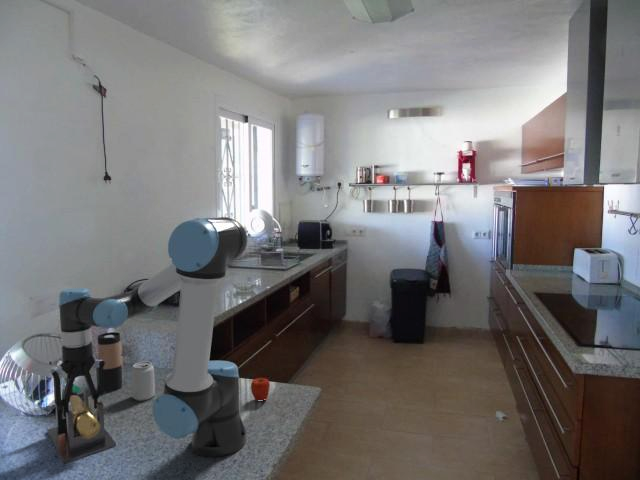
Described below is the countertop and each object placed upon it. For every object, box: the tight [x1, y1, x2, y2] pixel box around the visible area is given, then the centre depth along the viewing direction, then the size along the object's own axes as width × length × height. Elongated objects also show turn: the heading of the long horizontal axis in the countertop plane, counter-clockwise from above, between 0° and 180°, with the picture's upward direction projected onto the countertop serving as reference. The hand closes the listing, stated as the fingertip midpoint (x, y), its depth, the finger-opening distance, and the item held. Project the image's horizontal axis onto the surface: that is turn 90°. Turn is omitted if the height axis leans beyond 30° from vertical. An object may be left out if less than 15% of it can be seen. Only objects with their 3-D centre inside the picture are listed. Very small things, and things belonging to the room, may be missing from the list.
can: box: [130, 361, 156, 402], centre depth 159 cm, size 8×8×12 cm
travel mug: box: [97, 331, 123, 393], centre depth 166 cm, size 8×8×20 cm
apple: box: [250, 377, 271, 401], centre depth 155 cm, size 6×6×8 cm
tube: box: [69, 394, 100, 439], centre depth 129 cm, size 20×5×5 cm, turn 41°
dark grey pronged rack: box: [46, 386, 117, 465], centre depth 131 cm, size 22×13×12 cm, turn 41°
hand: (81, 423), depth 129 cm, fingers closed on tube, 5 cm apart
